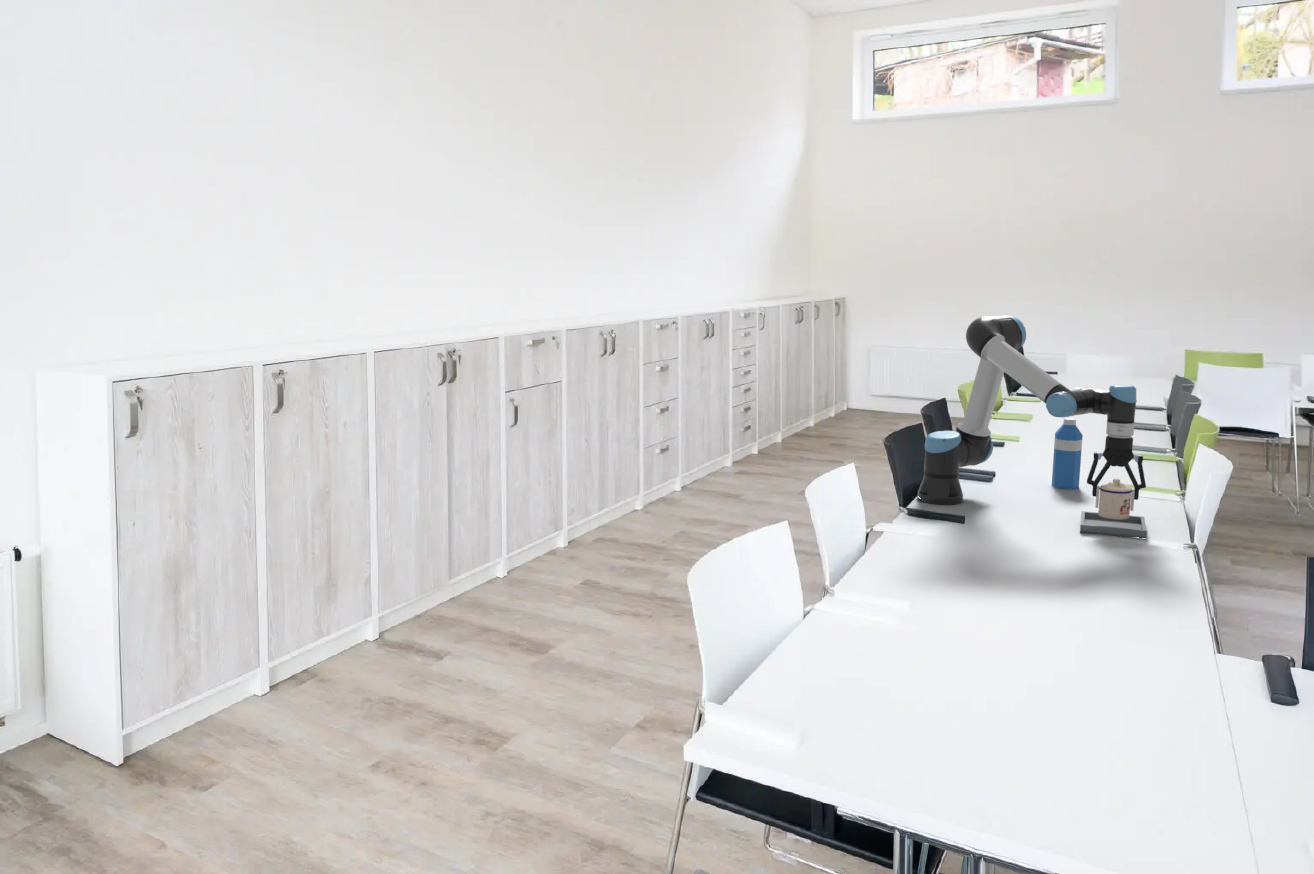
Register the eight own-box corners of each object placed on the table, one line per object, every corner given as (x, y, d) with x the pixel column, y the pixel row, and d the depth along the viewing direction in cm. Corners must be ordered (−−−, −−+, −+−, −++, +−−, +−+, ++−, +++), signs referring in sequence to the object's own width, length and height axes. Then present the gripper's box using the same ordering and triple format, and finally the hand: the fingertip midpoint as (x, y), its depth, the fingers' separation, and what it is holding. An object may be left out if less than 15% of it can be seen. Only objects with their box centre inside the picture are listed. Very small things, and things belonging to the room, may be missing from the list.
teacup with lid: (1125, 521, 293) (1128, 483, 291) (1093, 516, 298) (1096, 479, 296) (1136, 514, 302) (1139, 477, 300) (1105, 509, 307) (1107, 473, 305)
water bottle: (1081, 485, 360) (1085, 418, 355) (1076, 490, 352) (1081, 421, 347) (1054, 482, 365) (1058, 416, 360) (1049, 487, 357) (1053, 419, 352)
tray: (1079, 533, 297) (1080, 524, 296) (1080, 518, 313) (1081, 511, 312) (1146, 539, 289) (1146, 531, 289) (1143, 524, 306) (1144, 516, 305)
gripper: (1080, 435, 297) (1075, 507, 301) (1160, 440, 288) (1154, 514, 292) (1080, 431, 304) (1075, 502, 308) (1159, 436, 295) (1153, 508, 299)
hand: (1114, 508), depth 300 cm, fingers closed on teacup with lid, 9 cm apart
